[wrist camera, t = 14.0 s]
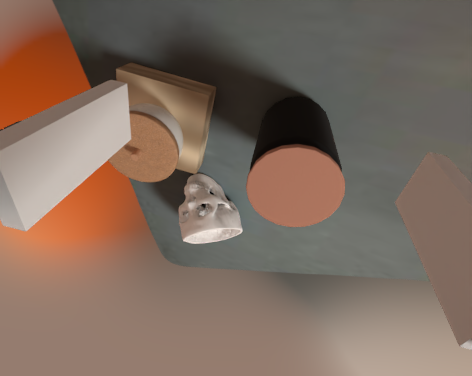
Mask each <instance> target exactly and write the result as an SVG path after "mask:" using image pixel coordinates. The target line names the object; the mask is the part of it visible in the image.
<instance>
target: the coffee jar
mask: <svg viewBox="0 0 472 376" xmlns="http://www.w3.org/2000/svg"><path fill="white" fill-rule="evenodd" d="M246 189H247V194H248V199H249V201H250V203H251V204H252V206H253V207H254V209H255V210H256V211H257V212H258V213H259V214H260V215H261V216H263V217H264V218H265V219H267V220H269V221H271V222H273V223H275V224H279V225H283V226H288V227H305V226H308V225H312V224H316V223H319V222H321V221H322V220H324V219H326V218H327V217H329V216H331V214H332V213H333V212H334V211H335V210H336V209H337V208H338V207H339V206H340V203H341V201H342V199H343V196H344V194H345V180H344V177H343V175H342V168H341V164H340V160H339V156H338V153H337V149H336V145H335V142H334V138H333V134H332V130H331V127H330V123H329V120H328V118H327V115H326V112H325V111H324V110H323V109H322V108H321V107H320V106H319V104H317V103H315V102H313V101H311V100H310V99H306V98H300V97H294V98H287V99H284V100H282V101H280V102H278V103H276V104H274V105H273V106H272V107H271V108H270V109H269V110H268V111H267V113H266V115H265V116H264V118H263V120H262V124H261V127H260V131H259V135H258V139H257V143H256V146H255V150H254V154H253V158H252V162H251V167H250V172H249V174H248V179H247V184H246Z"/></svg>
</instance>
